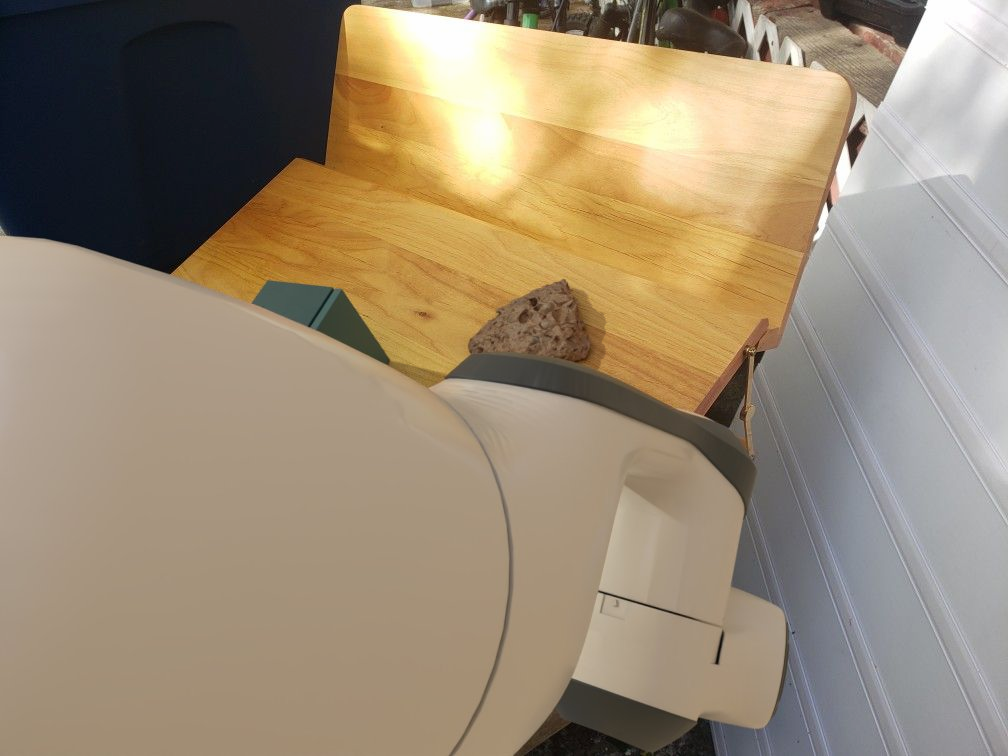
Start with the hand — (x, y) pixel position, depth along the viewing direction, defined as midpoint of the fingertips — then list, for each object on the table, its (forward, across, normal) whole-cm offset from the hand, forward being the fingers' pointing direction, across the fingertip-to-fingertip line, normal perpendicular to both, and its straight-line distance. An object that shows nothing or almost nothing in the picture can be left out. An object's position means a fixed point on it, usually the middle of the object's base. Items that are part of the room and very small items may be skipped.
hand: (389, 549), depth 55 cm
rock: (+3, -32, +14) cm, 35 cm away
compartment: (+27, -19, +14) cm, 36 cm away
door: (+18, -19, +13) cm, 30 cm away
